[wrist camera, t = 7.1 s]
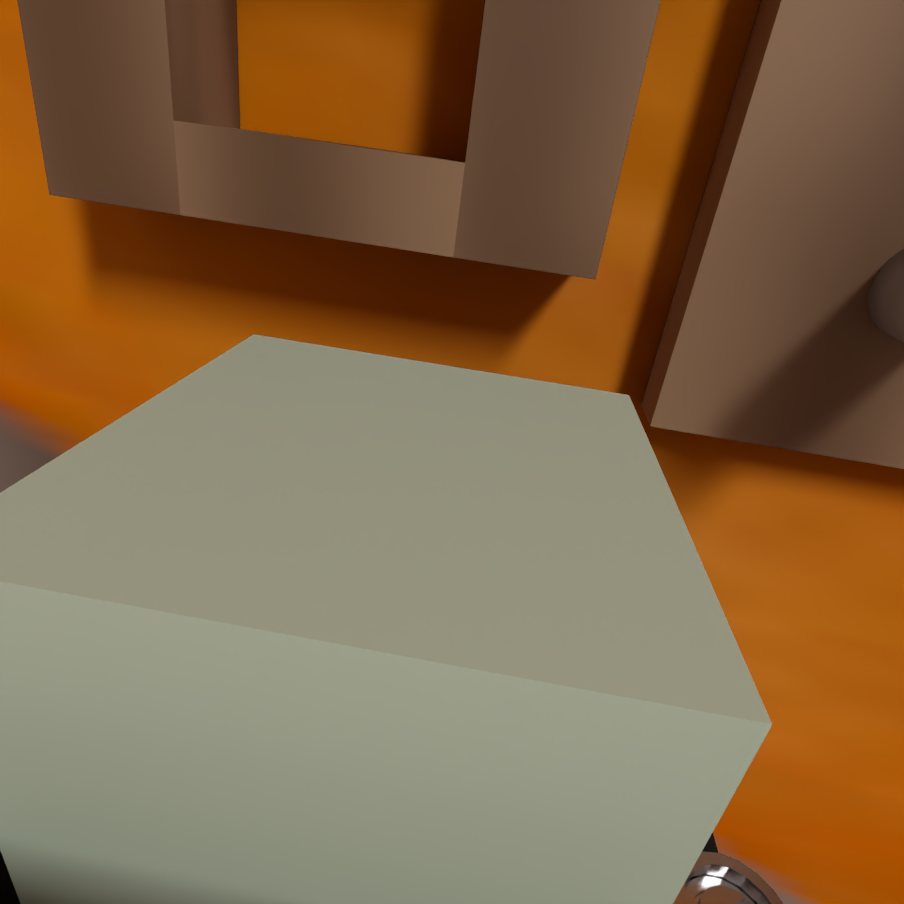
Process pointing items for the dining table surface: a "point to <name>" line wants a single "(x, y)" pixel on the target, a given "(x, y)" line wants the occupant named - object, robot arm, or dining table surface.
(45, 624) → the pale green rectangular block
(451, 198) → the socket board
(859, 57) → the board
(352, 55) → the dining table surface
